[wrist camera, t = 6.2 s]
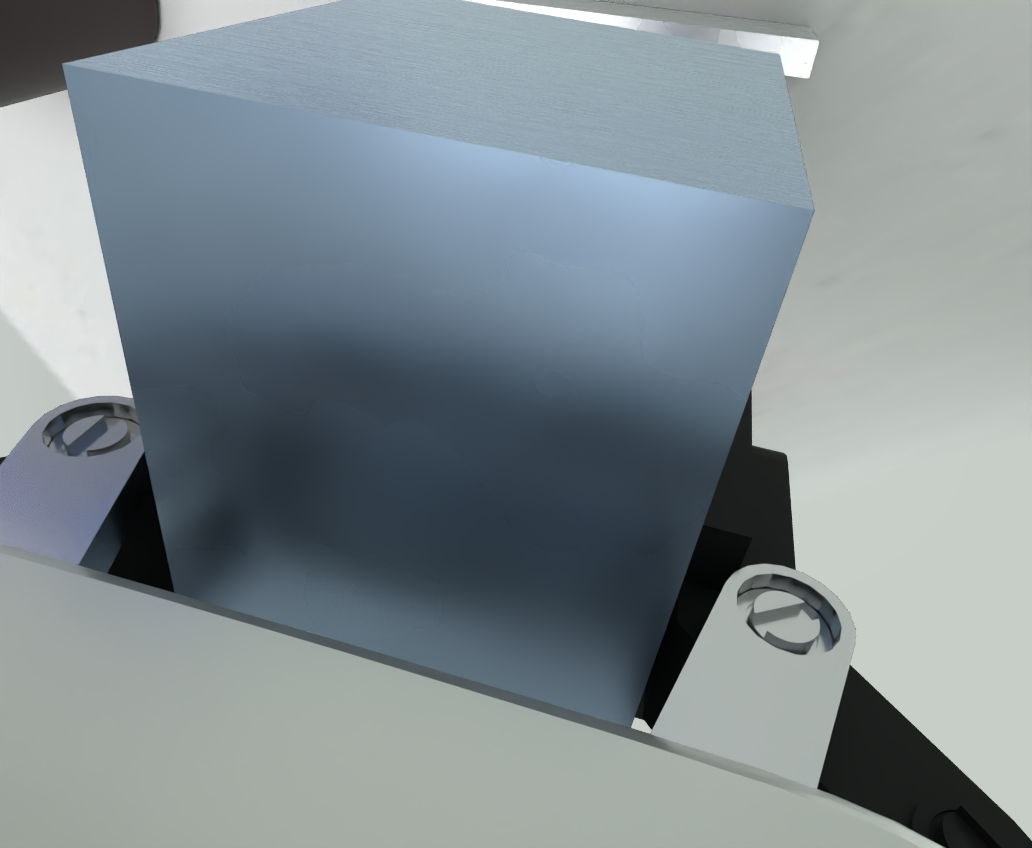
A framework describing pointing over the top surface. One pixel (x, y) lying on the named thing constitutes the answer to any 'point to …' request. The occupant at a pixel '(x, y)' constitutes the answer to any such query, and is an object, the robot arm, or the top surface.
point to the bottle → (64, 39)
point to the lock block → (444, 320)
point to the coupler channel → (688, 27)
